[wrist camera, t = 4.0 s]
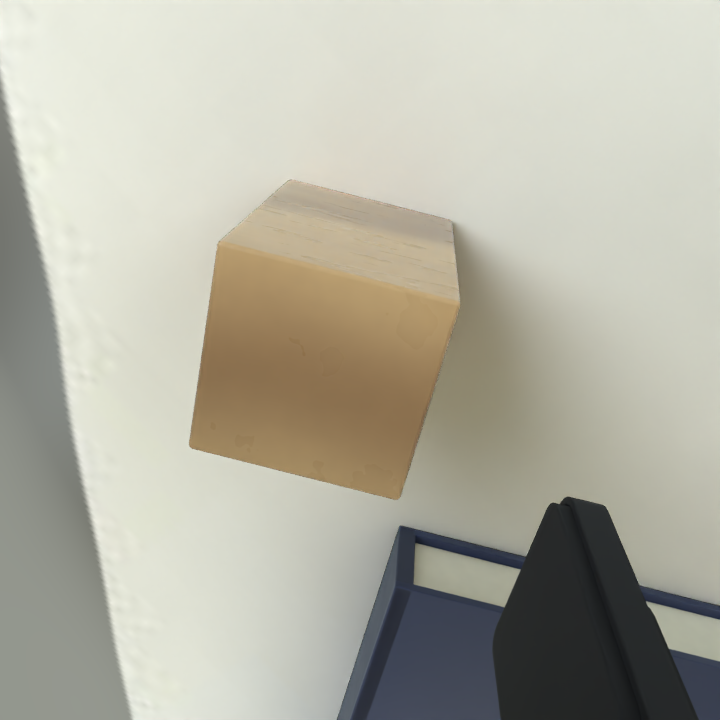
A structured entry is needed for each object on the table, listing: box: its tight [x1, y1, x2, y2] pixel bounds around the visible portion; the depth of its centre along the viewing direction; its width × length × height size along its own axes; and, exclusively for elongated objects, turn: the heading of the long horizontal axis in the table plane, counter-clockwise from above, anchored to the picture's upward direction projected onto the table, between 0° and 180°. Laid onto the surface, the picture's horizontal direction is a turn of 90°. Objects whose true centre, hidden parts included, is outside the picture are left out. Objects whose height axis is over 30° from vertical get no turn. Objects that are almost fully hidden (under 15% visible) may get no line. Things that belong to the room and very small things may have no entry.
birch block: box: [189, 180, 461, 500], centre depth 17 cm, size 5×5×7 cm
